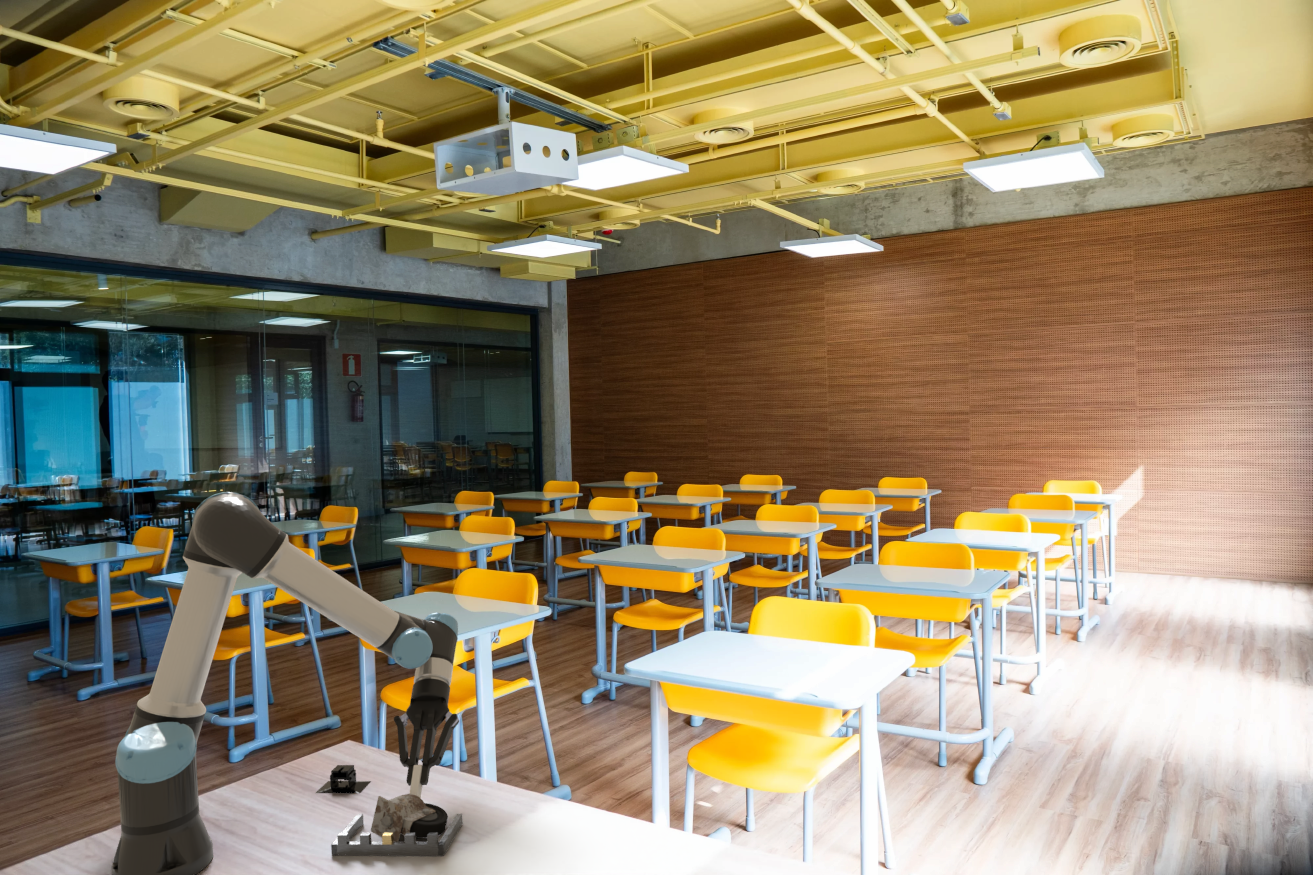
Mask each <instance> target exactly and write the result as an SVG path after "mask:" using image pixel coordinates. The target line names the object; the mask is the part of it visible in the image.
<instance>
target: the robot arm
mask: <svg viewBox="0 0 1313 875" xmlns="http://www.w3.org/2000/svg"><path fill="white" fill-rule="evenodd" d="M191 522H192V526H191V528H190V531H189V534H188V537H187V541H186V544H185V548H184V551H183V555H182V559H183V560H184V561H185V564H186V566H188V569H187V571H186V575H185V578H184V582H183V584H182V588H181V590H180V591H181V592H180V594H179V597H178V601H177V603H176V607H175V611H174V614H173V617H172V621H171V624H170V627H169V631H168V634H167V637H166V640H165V643H164V647H163V649H162V653H161V656H160V659H159V663H158V666H157V669H156V673H155V676H154V679H153V682H152V686H151V688H150V691H149V694H147V695H146V696H143V697H142V698H140V699H139V700H138V701H137V703H136V705H135V706H136V707H135V710H134V713H133V716H132V719H131V723H130V725H129V727H128V729H127V731H126V732H125V735H124V737H123V738H122V740H121V741H119V743H118V745H117V748H116V755H115V761H114V763H115V769H116V770H117V784H118V785H117V786H118V798H119V799H118V800H119V816H120V830H121V832H120V837H119V840H118V844H117V847H116V852H115V854H114V856H113V857H114V858H113V861H112V864H111V870H110V871H111V872H110V873H111V875H197V874H199V872H201V871H202V870H203V869H205V868H206V867H207V866H208V865H209V864H210V863H211V862H212V860H213V857H214V846H213V845H214V844H213V840H212V838H211V836H210V835H209V833H208V830H207V827H206V826H205V823H204V820H203V818H202V816H201V814H200V804H199V802H200V800H199V785H198V767H197V766H198V764H197V748H198V747H197V746H198V745H197V743H198V741H199V740H198V739H199V737H200V732H201V729H202V726H203V722H204V719H205V716H206V712H207V708H206V705H205V704H204V703H203V702H202V700H201V699H202V696H203V692H204V690H205V685H206V682H207V679H208V676H209V672H210V669H211V667H212V666H211V665H212V662H213V659H214V656H215V652H216V650H217V646H218V642H219V639H220V636H221V632H222V628H223V626H224V623H225V620H226V615H227V612H228V609H229V606H230V603H231V599H232V596H233V592H234V590H235V587H236V583H237V579H238V577H240V575H242V574H244V575H246V576H247V577H249V578H251V579H252V580H253V579H254V580H255V579H260V578H261V579H264V580H265V581H267V582H269V583H270V584H272V585H274V586H276V588H278V589H280V590H282V591H283V592H284V593H286V594H288V595H289V596H291V597H293V598H295V599H296V600H298V601H299V602H301V603H303V604H304V605H306V606H308V607H309V608H311V609H313V610H314V611H315V612H317V613H319V614H321V615H322V616H323V617H325V618H327V619H328V620H330V621H332V622H333V623H335V624H337V625H339V626H340V627H342V628H343V629H345V630H347V631H349V632H350V633H351V634H353V635H355V637H358V638H359V639H361V640H362V641H364V642H366V643H367V644H369V645H371V646H372V647H374V648H376V649H377V650H378V651H379V652H381V653H383V654H385V655H386V656H388V657H390V658H391V659H393V660H394V663H396V664H397V665H399V666H401V667H403V668H405V669H409V670H412V669H415V671H414V678H413V685H412V691H411V695H410V702H409V705H408V707H407V708H406V711H405V713H403V714H402V715H400V716H399V715H395V716H394V717H393V721H394V723H395V725H396V727H397V739H398V751H399V755H398V756H399V761H400V763H401V765H402V766H403V767H405V768H408V770H407V775H406V784H407V786H409V787H410V788H409V793H408V794H412V795H416V796H418V797H419V798H421V799H422V797H421V796H422V793H423V792H422V791H423V786H427V785H428V783H429V777H430V772H431V771H430V770H431V768H432V767H434V766H436V767H437V766H440V765H441V763H442V760H443V758H444V755H445V753H446V750H447V747H448V745H449V741H450V739H451V737H452V733H453V732H454V729H455V728H456V727H457V725H459V723H460V720H459V717H458V715H457V713H452V712H451V711H450V709H449V699H450V693H451V683H452V679H453V672H454V671H453V670H454V660H455V655H456V650H457V649H456V648H457V643H458V639H459V638H458V636H459V634H458V632H459V623H458V620H457V619H456V617H454V616H453V615H451V614H449V613H445V612H443V613H440V612H432V613H430V614H428V615H427V616H425V618H424V619H422V618H418V617H415V616H412V615H409V614H406V613H403V612H399V611H396V610H394V609H393V608H390V607H388V606H387V605H386V604H384V603H383V602H381V601H379V600H378V599H376V598H375V597H373V596H372V595H370V594H368V592H366V591H364V590H363V589H361V588H359V587H358V586H357V585H355V584H353V583H352V582H350V581H349V580H347V579H346V578H344V577H343V576H341V574H338V573H336V572H335V571H333V570H332V569H330V568H329V567H328V566H326V565H324V564H323V563H321V562H320V561H318V560H317V559H315V558H313V557H312V556H310V555H309V554H307V553H306V552H305V551H303V550H302V549H300V548H298V547H297V546H295V545H294V544H293V543H291V542H290V541H289V540H290V539H289V535H288V534H287V533H286V532H285V531H283V530H281V529H280V528H278V527H277V526H276V525H275V524H273V523H272V522H271V521H270V520H269V519H267V517H266V516H265V515H264V514H263V513H262V512H261V510H260V509H259V507H258V505H257V504H256V503H255V502H254V501H253V500H252V499H251V498H250V497H248V496H246V495H243V494H240V493H238V492H232V491H231V492H230V491H226V492H219V493H215V494H213V495H210V496H208V497H207V498H206V499H204V500H203V501H201V502H200V503H199V505H198V506H197V507H196V508H195V511H194V512H193V516H192V521H191ZM408 720H409V721H410V723H411V725H412V726H413V734H412V739H411V740H412V741H411V746H410V752H409V747H408V736H407V733H408V732H407V728H406V727H407V726H408ZM444 721H445V723H444V725H443V728H442V731H441V734H440V735H439V738H438V740H437V741H438V742H437V744H436V746H435V740H436V735H437V730H438V728H439V727H440V726H441V724H442V723H443V722H444ZM425 731H426V733H425ZM424 733H425V739H424V740H425V741H424V746H423V753H422V759H421V760H420V755H421V746H422V742H423V736H424ZM434 747H435V748H434ZM419 760H420V762H421V764H419Z"/></svg>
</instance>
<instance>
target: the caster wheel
mask: <svg viewBox="0 0 1313 875" xmlns="http://www.w3.org/2000/svg"><path fill="white" fill-rule="evenodd" d="M448 818H449V815H448V813H447V811H446V810H445V809H444V808H442V807H440V806H439V805H437V804H433V803H426V802H424V801H423V799H422V797H421V798H419V797H418V796H416V795H412V794H409V793H405V794H402V795H398V796H395V797H393V798H390V799H386V798H384V797H383V796H381V795H378V796H377V801H376V806H375V810H374V814H373V820H372V824H371V828H370V831H371V832H370V833H373V834H375V835H377V836H378V837H380V838H382V835H383V834H384V833H393V839H394V842H400V841H399V840H400V837H401V835H403V836H404V835H405V834H406V833H416V838H418V839H419V838H421V839H427V835H428V833H438V837H439V836H441V835H443V834H444V833H445V832H446V828H447V827H446V826H447V822H448Z"/></svg>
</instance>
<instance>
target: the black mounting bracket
mask: <svg viewBox="0 0 1313 875" xmlns="http://www.w3.org/2000/svg"><path fill="white" fill-rule="evenodd" d="M356 771H357V770H356V769H355V765H354V764H337V765H336V766H335V767H334V768H333V769H331V771H330V773H331V774H330V775H329V780H328V781H327V782H326V783H324V784H323V785H322V786H320V788H319V789H318V790H317V791H315V794H354V795H355V794H357V795H358V794H361V793H362V792H363V791H364V790H365V789H366V788H367V787H368V786H369V785H370V783H371V782H372V781H370V780H357V772H356Z"/></svg>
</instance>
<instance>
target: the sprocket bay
mask: <svg viewBox="0 0 1313 875" xmlns="http://www.w3.org/2000/svg"><path fill="white" fill-rule="evenodd" d="M463 822H464V821H463V813H456V814H455V816H454V817H453V819H452V821H451V823H450V824H449V826H448V827H447V829H445V831H444V833H443V834H442V837H441V839H440V840H439V836H438V833H428V835H427V838H426V841H417V837H416V833H406V834H405V835H403V836H404V841H399V842H394V839H393V833H384V834H383V835H382V837H381V840H382V841H372V832H361V833H360V835H359V841H355V840H353V841H351V840H352V839H353V837H354V836H355V835H356V834H357V833H358V831H359V830H360V829H361V828H362V826H363V825H364V814H363V813H357V814H356V815H355V816H354V817H353V818H352V820H351V821H350V822H348V824H347V825H346V826H345V828H344V829H343V830H342V831H341V832H338V834H337V836H336V838H335V840H333V842H331V845H330V847H331V856H335V857H336V856H337V857H340V856H341V857H343V856H345V857H346V856H348V857H351V856H352V857H353V856H355V857H357V856H359V857H360V856H362V857H363V856H365V857H366V856H367V857H368V856H369V857H374V856H375V857H376V856H377V857H380V856H381V857H383V856H385V857H387V856H388V857H393V856H394V857H399V856H400V857H403V856H404V857H419V856H420V857H444V856H445V855H446V853H447V852H448V850H449V848H450V846H451V844H452V843H453V842H454V839H455V838H456V836H457V835H458V833H459V831H460V830H461V827H462V826H463V825H462V824H464V823H463Z"/></svg>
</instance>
